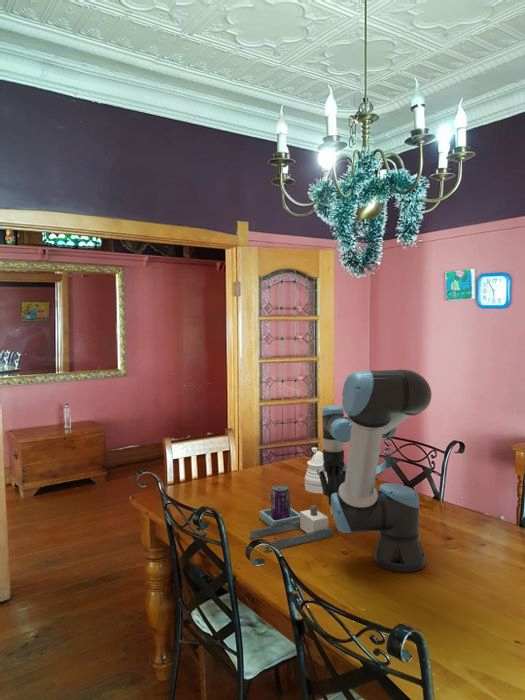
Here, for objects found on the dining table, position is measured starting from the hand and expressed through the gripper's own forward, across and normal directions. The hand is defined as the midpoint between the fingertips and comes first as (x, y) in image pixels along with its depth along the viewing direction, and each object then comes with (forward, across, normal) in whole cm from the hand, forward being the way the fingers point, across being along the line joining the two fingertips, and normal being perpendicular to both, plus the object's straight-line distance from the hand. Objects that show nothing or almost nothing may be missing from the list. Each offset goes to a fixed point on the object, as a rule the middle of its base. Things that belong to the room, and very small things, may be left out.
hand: (334, 513), depth 184 cm
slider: (+5, +8, 0) cm, 10 cm away
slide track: (+5, +18, 0) cm, 18 cm away
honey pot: (+5, -18, -39) cm, 43 cm away
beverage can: (+4, +14, -14) cm, 21 cm away
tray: (+5, +14, -14) cm, 21 cm away
